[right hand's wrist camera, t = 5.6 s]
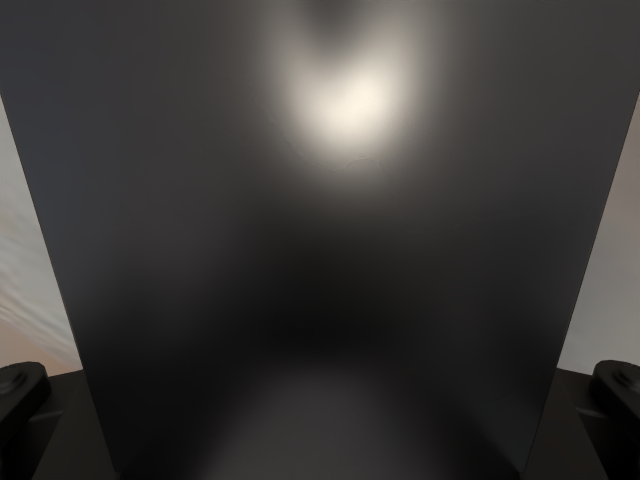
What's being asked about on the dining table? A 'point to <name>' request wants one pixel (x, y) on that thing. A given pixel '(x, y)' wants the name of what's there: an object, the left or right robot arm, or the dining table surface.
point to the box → (319, 220)
